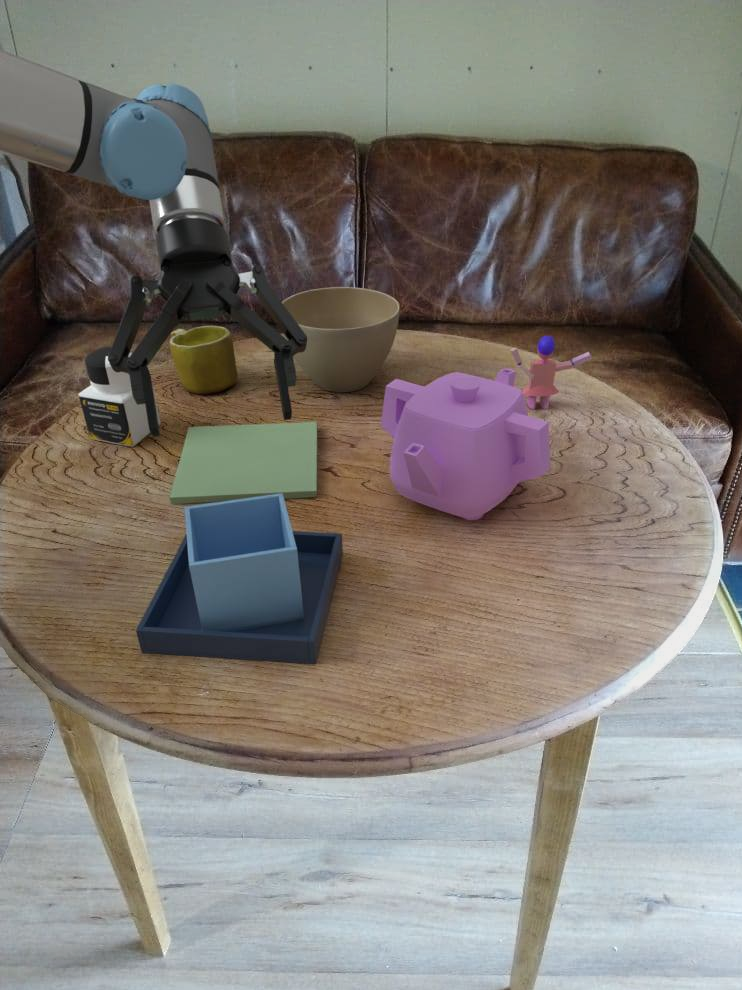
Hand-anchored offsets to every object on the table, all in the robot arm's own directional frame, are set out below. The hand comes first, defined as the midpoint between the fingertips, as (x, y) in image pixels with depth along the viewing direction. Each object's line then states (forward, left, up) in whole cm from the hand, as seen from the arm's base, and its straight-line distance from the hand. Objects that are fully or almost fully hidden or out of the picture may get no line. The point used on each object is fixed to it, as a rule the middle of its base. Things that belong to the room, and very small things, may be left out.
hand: (222, 424), depth 82 cm
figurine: (+43, +31, -16) cm, 55 cm away
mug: (-9, +44, -16) cm, 48 cm away
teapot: (+27, +9, -16) cm, 32 cm away
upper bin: (+2, -10, -15) cm, 18 cm away
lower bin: (+2, -10, -16) cm, 18 cm away
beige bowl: (+13, +42, -16) cm, 47 cm away
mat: (0, +18, -16) cm, 24 cm away
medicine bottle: (-18, +28, -16) cm, 37 cm away
